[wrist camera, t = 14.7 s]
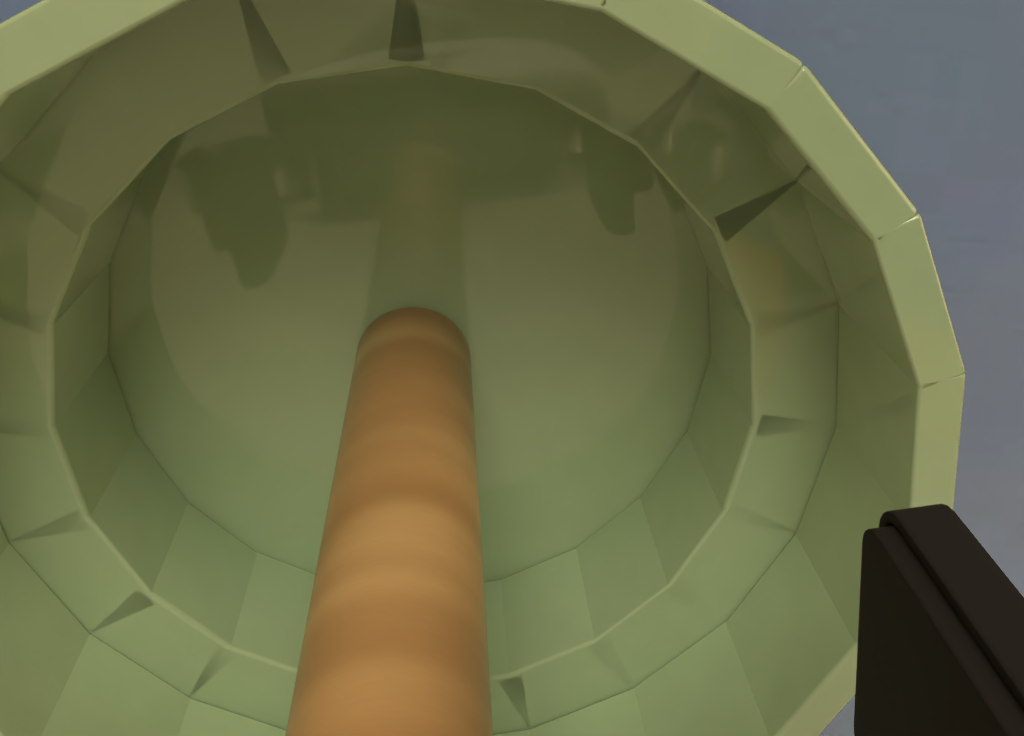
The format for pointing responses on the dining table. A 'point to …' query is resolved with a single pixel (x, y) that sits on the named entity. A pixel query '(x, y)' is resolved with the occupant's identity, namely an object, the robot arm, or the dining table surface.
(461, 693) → the stick
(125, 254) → the bowl
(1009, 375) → the dining table surface
